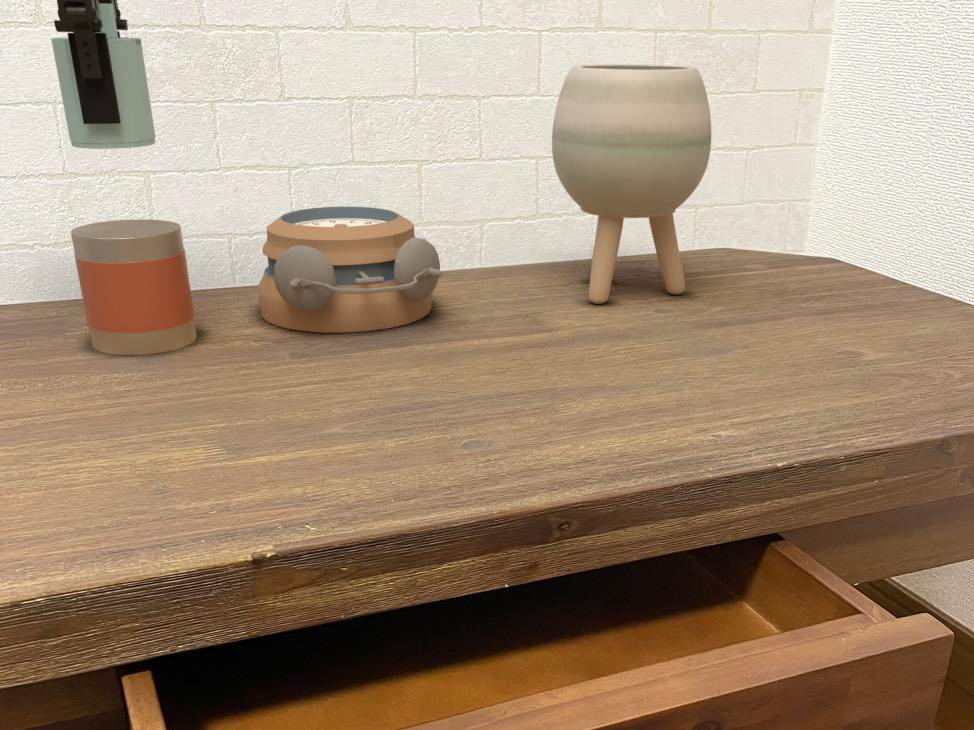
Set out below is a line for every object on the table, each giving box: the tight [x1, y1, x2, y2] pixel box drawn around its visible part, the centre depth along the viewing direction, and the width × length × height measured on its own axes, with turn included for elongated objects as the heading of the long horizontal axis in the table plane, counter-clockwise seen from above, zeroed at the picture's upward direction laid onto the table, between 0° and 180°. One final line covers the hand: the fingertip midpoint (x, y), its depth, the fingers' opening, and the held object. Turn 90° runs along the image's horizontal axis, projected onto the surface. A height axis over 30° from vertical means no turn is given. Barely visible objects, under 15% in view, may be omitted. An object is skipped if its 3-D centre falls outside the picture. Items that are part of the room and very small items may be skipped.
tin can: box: [70, 218, 198, 356], centre depth 93 cm, size 9×9×10 cm
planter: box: [551, 63, 712, 305], centre depth 108 cm, size 16×16×22 cm
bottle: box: [50, 4, 156, 150], centre depth 85 cm, size 7×7×10 cm
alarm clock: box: [257, 205, 442, 334], centre depth 101 cm, size 17×9×23 cm
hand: (109, 118), depth 86 cm, fingers closed on bottle, 7 cm apart
